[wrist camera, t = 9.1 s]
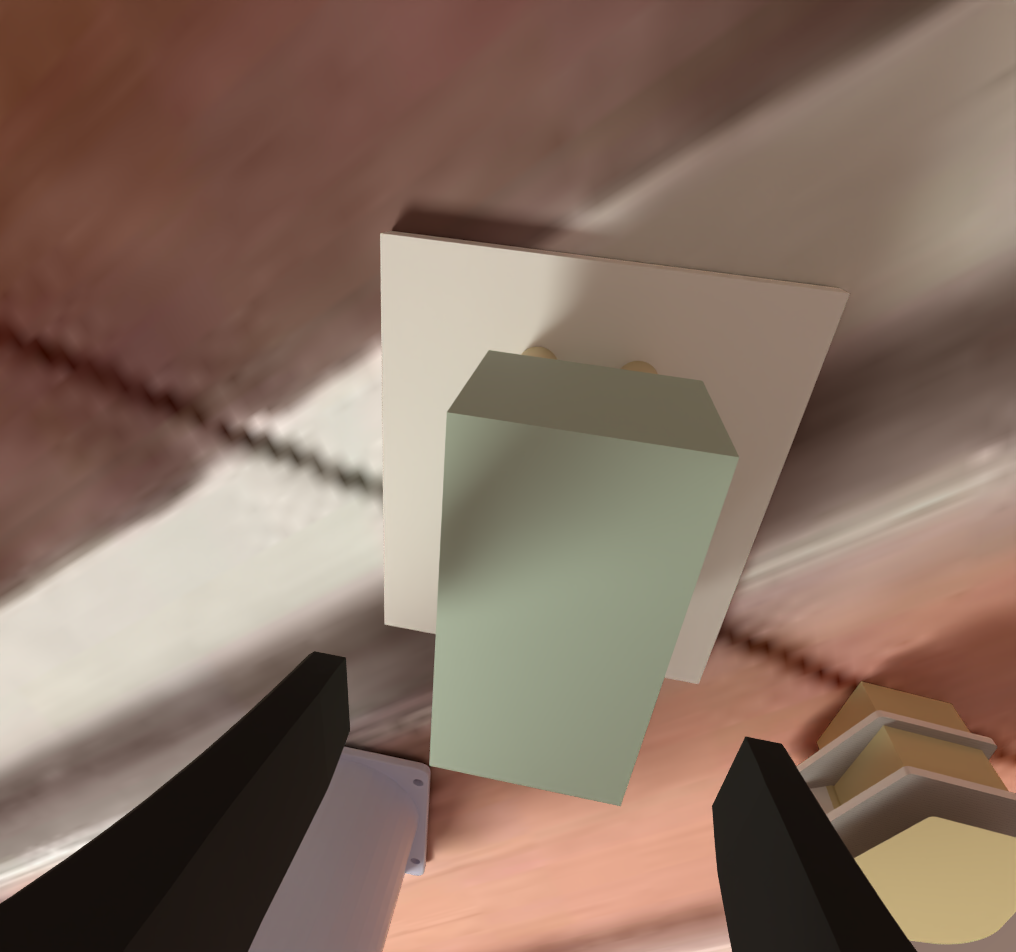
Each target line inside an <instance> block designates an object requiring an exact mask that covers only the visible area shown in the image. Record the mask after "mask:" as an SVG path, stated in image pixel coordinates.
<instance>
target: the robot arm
mask: <svg viewBox="0 0 1016 952" xmlns="http://www.w3.org/2000/svg"><path fill="white" fill-rule="evenodd" d="M349 731H350V722H349V705H348V687H347V670H346V658H345V657H340V656H335V655H330V654H325V653H320V652H315V651H314V652H313V653H311V654H309V655H308V656H307V657H306V658H305V659H304V660H303V661H302V662H301V663H300V664H299V665H298V666H297V667H296V668H295V669H294V670H293V671H292V672H291V673H290V674H289V675H287V676H286V677H285V678H284V679H283V680H282V681H281V682H280V683H279V684H278V685H277V686H276V687H275V688H274V689H273V690H272V691H271V692H270V693H269V694H268V695H266V696H265V697H264V698H263V699H262V700H261V701H260V702H259V703H258V704H257V705H256V706H255V707H254V708H252V709H251V710H250V711H249V712H248V713H247V714H246V715H245V716H244V717H243V718H241V719H240V720H239V721H238V722H237V723H236V724H235V725H234V726H232V727H231V728H230V729H229V730H228V731H227V732H226V733H225V734H223V735H222V736H221V737H220V738H219V739H218V740H217V741H216V742H214V743H213V744H212V745H211V746H210V747H209V748H208V749H206V750H205V751H204V752H203V753H202V754H201V755H199V756H198V757H197V758H196V759H195V760H193V761H192V762H191V763H190V764H189V765H187V766H186V767H185V768H184V769H182V770H181V771H180V772H179V773H178V774H176V775H175V776H174V777H173V778H172V779H170V780H169V781H168V782H167V783H165V784H164V785H163V786H162V787H161V788H159V789H158V790H157V791H156V792H154V793H153V794H152V795H151V796H150V797H148V798H147V799H146V800H144V801H143V802H142V803H141V804H139V805H138V806H137V807H135V808H134V809H133V810H132V811H130V812H129V813H128V814H126V815H125V816H124V817H123V818H121V819H120V820H119V821H117V822H116V823H115V824H113V825H112V826H111V827H109V828H108V829H107V830H105V831H104V832H102V833H101V834H100V835H98V836H97V837H96V838H94V839H93V840H92V841H90V842H89V843H87V844H86V845H85V846H83V847H82V848H81V849H79V850H78V851H76V852H75V853H74V854H72V855H71V856H69V857H68V858H67V859H65V860H64V861H62V862H61V863H59V864H58V865H56V866H55V867H53V868H52V869H51V870H49V871H48V872H46V873H45V874H43V875H42V876H40V877H39V878H37V879H36V880H35V881H33V882H32V883H30V884H29V885H27V886H26V887H24V888H23V889H21V890H20V891H19V892H17V893H16V894H14V895H13V896H11V897H10V898H8V899H7V900H5V901H4V902H2V903H1V904H0V952H382V951H383V948H384V944H385V941H386V937H387V934H388V930H389V927H390V923H391V920H392V916H393V913H394V909H395V906H396V902H397V899H398V895H399V892H400V889H401V885H402V882H403V878H404V875H405V873H407V874H412V875H417V876H419V875H422V874H423V873H424V871H425V867H426V851H427V832H428V813H429V794H430V775H431V771H430V768H429V767H428V766H427V765H425V764H423V763H420V762H415V761H411V760H406V759H401V758H397V757H392V756H387V755H382V754H378V753H373V752H368V751H363V750H359V749H354V748H349V747H345V746H344V745H345V742H346V740H347V737H348V734H349ZM712 810H713V824H714V838H715V850H716V861H717V872H718V878H719V883H720V889H721V894H722V900H723V905H724V911H725V916H726V922H727V927H728V932H729V938H730V943H731V948H732V952H917V951H916V949H915V948H914V947H913V945H912V944H911V942H910V941H909V939H908V938H907V937H906V935H905V934H904V932H903V931H902V929H901V928H900V926H899V925H898V924H897V922H896V921H895V919H894V918H893V916H892V915H891V913H890V912H889V910H888V909H887V907H886V906H885V904H884V903H883V901H882V900H881V898H880V897H879V895H878V894H877V892H876V891H875V889H874V888H873V886H872V885H871V883H870V882H869V880H868V879H867V877H866V876H865V874H864V873H863V871H862V870H861V868H860V867H859V865H858V864H857V862H856V861H855V859H854V858H853V856H852V855H851V853H850V852H849V850H848V848H847V847H846V845H845V844H844V842H843V841H842V839H841V838H840V836H839V834H838V833H837V831H836V830H835V828H834V826H833V825H832V823H831V822H830V820H829V818H828V817H827V815H826V814H825V812H824V811H823V809H822V807H821V806H820V804H819V803H818V801H817V799H816V798H815V796H814V794H813V793H812V791H811V790H810V788H809V786H808V785H807V783H806V781H805V780H804V778H803V777H802V775H801V773H800V772H799V770H798V768H797V767H796V765H795V764H794V762H793V760H792V759H791V757H790V756H789V754H788V752H787V751H786V749H785V748H784V746H783V745H782V744H780V743H775V742H770V741H765V740H760V739H755V738H750V737H745V739H744V741H743V743H742V745H741V747H740V749H739V751H738V753H737V755H736V757H735V759H734V761H733V764H732V766H731V768H730V770H729V772H728V774H727V776H726V778H725V780H724V782H723V784H722V786H721V789H720V791H719V793H718V795H717V797H716V799H715V801H714V803H713V805H712Z"/></svg>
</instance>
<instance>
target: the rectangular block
mask: <svg viewBox="0 0 1016 952" xmlns="http://www.w3.org/2000/svg"><path fill="white" fill-rule="evenodd" d="M738 460H739V456H738V454H737V452H736V449H735V447H734V445H733V443H732V441H731V439H730V437H729V435H728V433H727V431H726V429H725V426H724V424H723V422H722V420H721V418H720V416H719V414H718V412H717V410H716V408H715V406H714V404H713V401H712V399H711V397H710V395H709V393H708V391H707V389H706V387H705V385H704V383H703V381H701V380H694V379H687V378H680V377H673V376H666V375H659V374H652V373H645V372H638V371H631V370H624V369H617V368H610V367H603V366H596V365H589V364H582V363H575V362H568V361H562V360H555V359H548V358H541V357H534V356H527V355H520V354H513V353H506V352H499V351H492V350H488V352H487V353H486V355H485V356H484V358H483V359H482V361H481V362H480V364H479V365H478V367H477V368H476V370H475V371H474V373H473V374H472V376H471V377H470V379H469V380H468V381H467V383H466V384H465V386H464V387H463V389H462V390H461V392H460V393H459V395H458V396H457V398H456V399H455V401H454V402H453V404H452V405H451V407H450V408H449V410H448V411H447V418H446V438H445V458H444V478H443V498H442V518H441V538H440V559H439V579H438V599H437V619H436V639H435V659H434V679H433V700H432V720H431V740H430V760H429V766H433V767H438V768H443V769H447V770H452V771H457V772H461V773H466V774H471V775H476V776H480V777H485V778H490V779H494V780H499V781H504V782H509V783H513V784H518V785H523V786H528V787H532V788H537V789H542V790H546V791H551V792H556V793H561V794H565V795H570V796H575V797H580V798H584V799H589V800H594V801H598V802H603V803H608V804H613V805H617V806H621V803H622V800H623V797H624V794H625V792H626V789H627V786H628V783H629V780H630V777H631V774H632V771H633V768H634V765H635V762H636V759H637V756H638V753H639V750H640V747H641V745H642V742H643V739H644V736H645V733H646V730H647V727H648V724H649V721H650V718H651V715H652V712H653V709H654V706H655V703H656V701H657V698H658V695H659V692H660V689H661V686H662V683H663V680H664V677H665V674H666V671H667V668H668V665H669V662H670V659H671V656H672V654H673V651H674V648H675V645H676V642H677V639H678V636H679V633H680V630H681V627H682V624H683V621H684V618H685V615H686V612H687V609H688V607H689V604H690V601H691V598H692V595H693V592H694V589H695V586H696V583H697V580H698V577H699V574H700V571H701V568H702V565H703V563H704V560H705V557H706V554H707V551H708V548H709V545H710V542H711V539H712V536H713V533H714V530H715V527H716V524H717V521H718V518H719V516H720V513H721V510H722V507H723V504H724V501H725V498H726V495H727V492H728V489H729V486H730V483H731V480H732V477H733V474H734V471H735V469H736V466H737V463H738Z"/></svg>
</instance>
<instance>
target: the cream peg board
mask: <svg viewBox="0 0 1016 952" xmlns="http://www.w3.org/2000/svg"><path fill="white" fill-rule="evenodd" d="M380 248H381V341H382V434H383V527H384V620H385V625H391V626H396V627H401V628H406V629H412V630H417V631H422V632H427V633H433V634H436V619H437V599H438V579H439V559H440V538H441V518H442V498H443V478H444V458H445V438H446V418H447V411H448V410H449V408H450V407H451V405H452V404H453V402H454V401H455V399H456V398H457V396H458V395H459V393H460V392H461V390H462V389H463V387H464V386H465V384H466V383H467V381H468V380H469V379H470V377H471V376H472V374H473V373H474V371H475V370H476V368H477V367H478V365H479V364H480V362H481V361H482V359H483V358H484V356H485V355H486V353H487V352H488V350H492V351H499V352H506V353H513V354H520V355H527V356H534V357H541V358H548V359H555V360H562V361H568V362H575V363H582V364H589V365H596V366H603V367H610V368H617V369H624V370H631V371H638V372H645V373H652V374H659V375H666V376H673V377H680V378H687V379H694V380H701V381H703V383H704V385H705V387H706V389H707V391H708V393H709V395H710V397H711V399H712V401H713V404H714V406H715V408H716V410H717V412H718V414H719V416H720V418H721V420H722V422H723V424H724V426H725V429H726V431H727V433H728V435H729V437H730V439H731V441H732V443H733V445H734V447H735V449H736V452H737V454H738V456H739V460H738V463H737V466H736V469H735V471H734V474H733V477H732V480H731V483H730V486H729V489H728V492H727V495H726V498H725V501H724V504H723V507H722V510H721V513H720V516H719V518H718V521H717V524H716V527H715V530H714V533H713V536H712V539H711V542H710V545H709V548H708V551H707V554H706V557H705V560H704V563H703V565H702V568H701V571H700V574H699V577H698V580H697V583H696V586H695V589H694V592H693V595H692V598H691V601H690V604H689V607H688V609H687V612H686V615H685V618H684V621H683V624H682V627H681V630H680V633H679V636H678V639H677V642H676V645H675V648H674V651H673V654H672V656H671V659H670V662H669V665H668V668H667V671H666V674H665V677H664V678H668V679H674V680H679V681H684V682H689V683H695V684H699V682H700V679H701V677H702V674H703V672H704V669H705V667H706V664H707V661H708V659H709V656H710V654H711V651H712V648H713V646H714V643H715V641H716V638H717V636H718V633H719V630H720V628H721V625H722V623H723V620H724V618H725V615H726V612H727V610H728V607H729V605H730V602H731V599H732V597H733V594H734V592H735V589H736V587H737V584H738V581H739V579H740V576H741V574H742V571H743V569H744V566H745V563H746V561H747V558H748V556H749V553H750V551H751V548H752V545H753V543H754V540H755V538H756V535H757V532H758V530H759V527H760V525H761V522H762V520H763V517H764V514H765V512H766V509H767V507H768V504H769V502H770V499H771V496H772V494H773V491H774V489H775V486H776V483H777V481H778V478H779V476H780V473H781V471H782V468H783V465H784V463H785V460H786V458H787V455H788V453H789V450H790V447H791V445H792V442H793V440H794V437H795V435H796V432H797V429H798V427H799V424H800V422H801V419H802V416H803V414H804V411H805V409H806V406H807V404H808V401H809V398H810V396H811V393H812V391H813V388H814V386H815V383H816V380H817V378H818V375H819V373H820V370H821V367H822V365H823V362H824V360H825V357H826V355H827V352H828V349H829V347H830V344H831V342H832V339H833V337H834V334H835V331H836V329H837V326H838V324H839V321H840V319H841V316H842V313H843V311H844V308H845V306H846V303H847V300H848V298H849V295H850V293H848V292H846V291H844V290H842V289H840V288H836V287H828V286H820V285H813V284H805V283H797V282H789V281H781V280H773V279H765V278H758V277H750V276H742V275H734V274H726V273H718V272H711V271H703V270H695V269H687V268H679V267H671V266H663V265H656V264H648V263H640V262H632V261H624V260H616V259H609V258H601V257H593V256H585V255H577V254H569V253H561V252H554V251H546V250H538V249H530V248H522V247H514V246H507V245H499V244H491V243H483V242H475V241H467V240H460V239H452V238H444V237H436V236H428V235H420V234H412V233H405V232H397V231H387V232H383V233H380Z"/></svg>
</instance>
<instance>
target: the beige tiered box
mask: <svg viewBox="0 0 1016 952" xmlns="http://www.w3.org/2000/svg"><path fill="white" fill-rule="evenodd" d="M817 745H818V747H819V751H818V752H816V753H815V754H813V755H812V756H811V757H809V758H808V759H806V760H805V761H803V762H802V763H801V764H799V765H798V766H796V767H797V768H798V770H799V772H800V773H801V775H802V777H803V778H804V780H805V781H806V783H807V785H808V786H809V788H810V790H811V791H812V793H813V794H814V796H815V798H816V799H817V801H818V803H819V804H820V806H821V807H822V809H823V811H824V812H825V814H826V815H827V817H828V818H829V820H830V822H831V823H832V825H833V826H834V828H835V830H836V831H837V833H838V834H839V836H840V838H841V839H842V841H843V842H844V844H845V845H846V847H847V848H848V850H849V852H850V853H851V855H852V856H853V858H854V859H855V861H856V862H857V864H858V865H859V867H860V868H861V870H862V871H863V873H864V874H865V876H866V877H867V879H868V880H869V882H870V883H871V885H872V886H873V888H874V889H875V891H876V892H877V894H878V895H879V897H880V898H881V900H882V901H883V903H884V904H885V906H886V907H887V909H888V910H889V912H890V913H891V915H892V916H893V918H894V919H895V921H896V922H897V924H898V925H899V926H900V928H901V929H902V931H903V932H904V934H905V935H906V937H907V938H908V939H909V940H911V941H918V942H926V943H934V944H960V943H967V942H972V941H977V940H980V939H983V938H986V937H988V936H990V935H992V934H993V933H995V932H997V931H998V930H999V929H1000V928H1001V927H1002V926H1003V925H1004V924H1005V923H1006V921H1008V920H1009V919H1010V918H1011V916H1012V915H1013V914H1014V913H1015V912H1016V793H1013V792H1009V791H1008V789H1007V788H1006V786H1005V785H1004V783H1003V782H1002V780H1001V779H1000V777H999V776H998V774H997V773H996V771H995V770H994V768H993V766H992V765H991V763H990V762H989V759H990V757H991V756H992V755H993V753H994V752H995V750H996V749H997V746H996V744H995V743H994V741H993V740H992V739H991V738H989V737H985V736H981V735H977V734H973V733H970V731H969V730H968V728H967V727H966V725H965V724H964V722H963V721H962V719H961V718H960V716H959V715H958V713H957V711H956V710H955V708H954V707H953V705H952V704H951V703H947V702H943V701H939V700H935V699H930V698H926V697H922V696H918V695H914V694H910V693H906V692H902V691H898V690H894V689H890V688H886V687H882V686H878V685H874V684H870V683H866V682H862V681H861V682H860V684H859V685H858V686H857V688H856V689H855V690H854V692H853V693H852V694H851V696H850V697H849V699H848V700H847V701H846V703H845V704H844V705H843V707H842V708H841V709H840V711H839V712H838V714H837V715H836V716H835V718H834V719H833V720H832V722H831V723H830V724H829V726H828V727H827V729H826V730H825V731H824V733H823V734H822V735H821V737H820V738H819V739H818V741H817Z"/></svg>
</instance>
